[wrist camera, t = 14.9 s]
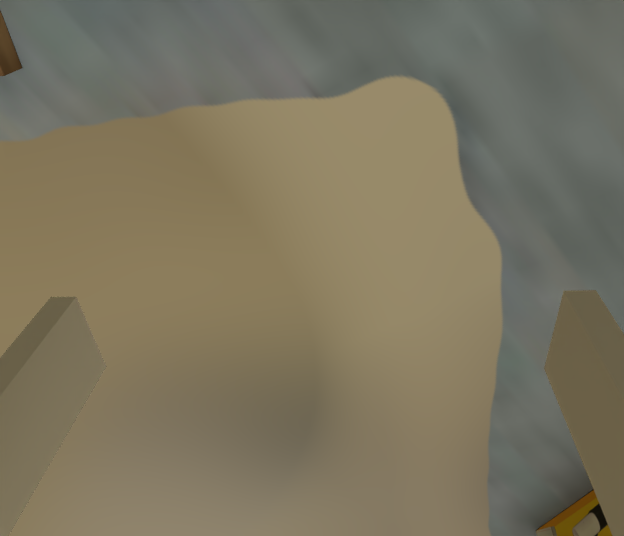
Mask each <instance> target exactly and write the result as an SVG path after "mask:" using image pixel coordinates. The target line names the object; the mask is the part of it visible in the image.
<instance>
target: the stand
mask: <svg viewBox="0 0 624 536" xmlns="http://www.w3.org/2000/svg"><path fill="white" fill-rule="evenodd" d="M21 68H22V66H21V63H20V61H19V58H18V56H17V53H16V50H15V48H14V45H13V42H12V40H11V37H10V35H9V32H8V29H7V27H6V24H5V22H4V19H3V16H2V14H1V11H0V76H5V75H7V74H9V73H12V72H14V71H16V70H19V69H21Z"/></svg>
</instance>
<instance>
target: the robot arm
mask: <svg viewBox="0 0 624 536" xmlns="http://www.w3.org/2000/svg"><path fill="white" fill-rule="evenodd" d="M105 368H106V365H105V363H104V360H103V358H102V356H101V353H100V351H99V349H98V346H97V344H96V342H95V339H94V337H93V335H92V332H91V330H90V328H89V325H88V323H87V321H86V318H85V316H84V314H83V311H82V309H81V307H80V304H79V302H78V300H77V298H76V297H51V298H50V299H49V300H48V301H47V302H46V304H45V305H44V306H43V307H42V308H41V310H40V311H39V312H38V313H37V314H36V316H35V317H34V318H33V319H32V320H31V322H30V323H29V324H28V325H27V326H26V328H25V329H24V330H23V331H22V332H21V334H20V335H19V336H18V338H16V340H15V341H14V342H13V343H12V344H11V346H10V347H9V348H8V349H7V350H6V352H5V353H4V354H3V355H2V357H1V358H0V536H9V534H10V532H11V531H12V529H13V527H14V526H15V524H16V522H17V520H18V519H19V517H20V515H21V513H22V512H23V510H24V508H25V506H26V505H27V503H28V501H29V500H30V498H31V496H32V494H33V493H34V491H35V489H36V487H37V486H38V484H39V482H40V480H41V479H42V477H43V475H44V473H45V472H46V470H47V468H48V466H49V465H50V463H51V461H52V459H53V458H54V456H55V454H56V452H57V451H58V449H59V447H60V446H61V444H62V442H63V440H64V439H65V437H66V435H67V433H68V432H69V430H70V429H71V427H72V425H73V423H74V422H75V420H76V418H77V416H78V415H79V413H80V411H81V409H82V408H83V406H84V404H85V402H86V401H87V399H88V397H89V396H90V394H91V392H92V390H93V389H94V387H95V385H96V383H97V382H98V380H99V378H100V377H101V374H102V373H103V371H104V370H105ZM544 369H545V372H546V374H547V377H548V379H549V381H550V384H551V386H552V389H553V391H554V394H555V396H556V399H557V401H558V404H559V406H560V408H561V411H562V413H563V416H564V418H565V421H566V423H567V426H568V428H569V430H570V433H571V435H572V438H573V440H574V443H575V445H576V448H577V450H578V452H579V455H580V457H581V460H582V462H583V465H584V467H585V470H586V472H587V474H588V477H589V479H590V482H591V484H592V487H593V489H594V492H595V494H596V496H597V499H598V501H599V504H600V506H601V509H602V511H603V514H604V516H605V518H606V521H607V523H608V526H609V528H610V531H611V533H612V536H624V334H623V332H622V331H621V329H620V328H619V326H618V324H617V323H616V321H615V320H614V318H613V317H612V315H611V313H610V312H609V310H608V309H607V307H606V306H605V304H604V302H603V301H602V299H601V298H600V296H599V295H598V293H597V291H596V290H587V291H564V292H563V296H562V300H561V304H560V308H559V312H558V316H557V320H556V324H555V328H554V332H553V336H552V339H551V343H550V347H549V351H548V355H547V359H546V363H545V367H544Z"/></svg>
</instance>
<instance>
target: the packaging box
mask: <svg viewBox="0 0 624 536" xmlns="http://www.w3.org/2000/svg"><path fill="white" fill-rule="evenodd" d="M536 534H537V536H612V533H611V531H610V528H609V526H608V523H607V521H606V518H605V516H604V514H603V511H602V509H601V506H600V504H599V501H598V499H597V496H596V494H595V492H594V490H593V491H591V492H590V493H588V494H587V495H586V496H584V497H583V498H581V499H580V500H578V501H577V502H576V503H574V504H573V505H571V506H570V507H569V508H567V509H566V510H564V511H563V512H562V513H560V514H559V515H557V516H556V517H554V518H553V519H552V520H550V521H549V522H547V523H546V524H545V525H543V526H542V527H540V528H539V529H538V530H536Z"/></svg>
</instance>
